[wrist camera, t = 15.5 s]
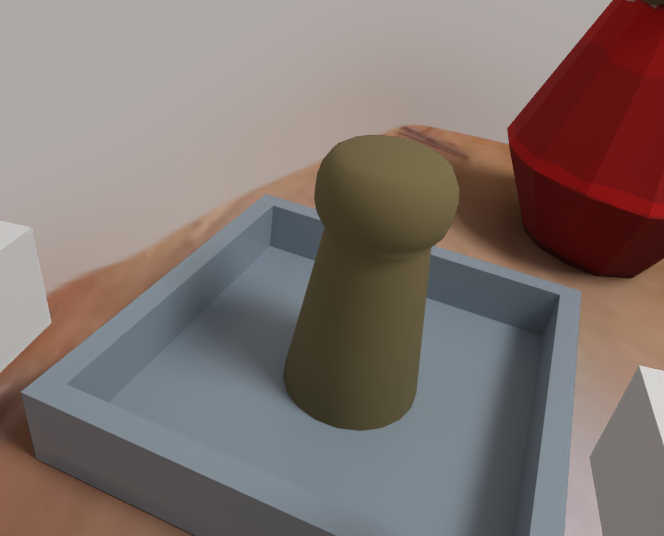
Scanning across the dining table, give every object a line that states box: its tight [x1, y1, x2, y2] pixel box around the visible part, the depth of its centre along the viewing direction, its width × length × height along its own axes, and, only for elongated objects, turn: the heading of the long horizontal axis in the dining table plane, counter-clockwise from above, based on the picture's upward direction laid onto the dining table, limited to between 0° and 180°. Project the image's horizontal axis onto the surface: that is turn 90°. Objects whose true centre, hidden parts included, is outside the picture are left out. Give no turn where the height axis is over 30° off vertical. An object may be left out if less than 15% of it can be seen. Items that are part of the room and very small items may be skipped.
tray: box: [21, 194, 581, 536], centre depth 26 cm, size 18×18×4 cm
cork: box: [283, 135, 459, 431], centre depth 23 cm, size 6×6×11 cm
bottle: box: [507, 0, 664, 278], centre depth 37 cm, size 16×14×20 cm
